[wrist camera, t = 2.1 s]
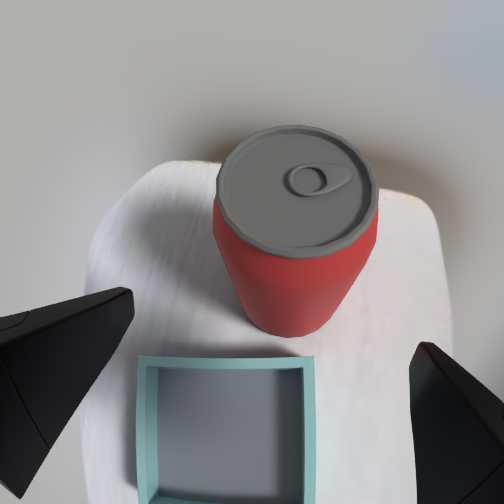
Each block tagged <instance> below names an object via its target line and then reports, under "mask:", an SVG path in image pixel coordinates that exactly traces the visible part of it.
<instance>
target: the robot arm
mask: <svg viewBox="0 0 504 504" xmlns="http://www.w3.org/2000/svg"><path fill="white" fill-rule="evenodd" d="M134 313H135V310H134V299H133V292H132V290H131V289H128V288H124V287H117V288H113V289H109V290H105V291H101V292H98V293H94V294H90V295H86V296H82V297H79V298H75V299H71V300H67V301H63V302H60V303H56V304H52V305H48V306H45V307H41V308H37V309H33V310H31V311H25V312H21V313H18V314H14V315H9V316H5V317H0V484H2V485H3V486H4V487H5V488H6V489H7V490H9V491H10V492H11V493H12V494H14V495H15V496H16V497H17V498H19V499H21V498H22V497H23V495H24V493H25V492H26V490H27V488H28V487H29V485H30V483H31V481H32V480H33V478H34V476H35V474H36V473H37V471H38V469H39V468H40V466H41V465H42V463H43V461H44V460H45V458H46V456H47V455H48V453H49V451H50V449H51V448H52V446H53V445H54V443H55V441H56V440H57V438H58V437H59V435H60V433H61V432H62V430H63V429H64V427H65V425H66V424H67V423H68V421H69V420H70V418H71V416H72V415H73V413H74V412H75V410H76V409H77V407H78V406H79V404H80V403H81V401H82V400H83V398H84V397H85V395H86V394H87V392H88V391H89V389H90V388H91V386H92V385H93V383H94V382H95V380H96V379H97V377H98V376H99V374H100V373H101V371H102V370H103V368H104V367H105V366H106V364H107V363H108V361H109V360H110V358H111V357H112V355H113V354H114V352H115V350H116V349H117V347H118V345H119V343H120V341H121V340H122V338H123V336H124V334H125V332H126V331H127V329H128V327H129V325H130V323H131V322H132V320H133V318H134ZM409 382H410V413H411V423H412V432H413V441H414V453H415V466H416V484H417V504H504V403H502V401H501V400H500V399H499V398H498V397H497V396H496V395H494V394H493V393H492V392H491V391H490V390H488V388H486V387H485V386H484V385H483V384H482V383H480V382H479V381H478V380H477V379H476V378H475V377H473V376H472V375H471V374H470V373H469V372H467V371H466V370H465V369H464V368H463V367H462V366H460V365H459V364H458V363H457V362H456V361H454V360H453V359H452V358H451V357H450V356H448V355H447V354H446V353H445V352H444V351H442V350H441V349H440V348H439V347H437V346H436V345H435V344H434V343H432V342H420V343H419V345H418V346H417V349H416V351H415V353H414V356H413V358H412V360H411V362H410V366H409Z"/></svg>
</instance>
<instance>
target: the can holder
mask: <svg viewBox="0 0 504 504" xmlns="http://www.w3.org/2000/svg"><path fill="white" fill-rule="evenodd" d="M136 464H137V485H138V501H139V504H315V484H316V409H315V372H314V356H305V357H282V358H186V357H164V356H147V355H138V362H137V385H136Z"/></svg>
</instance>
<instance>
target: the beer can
mask: <svg viewBox="0 0 504 504" xmlns="http://www.w3.org/2000/svg"><path fill="white" fill-rule="evenodd" d="M378 198H379V186H378V183H377V179H376V176H375V173H374V171H373V168H372V166H371V165H370V163H369V162H368V161H367V159H366V158H365V157H364V156H363V154H362V153H361V151H360V150H359V149H357V148H356V147H354V146H353V145H352V144H351V143H349V142H348V141H347V140H345V139H344V138H343V137H340V136H338V135H336V134H334V133H331V132H329V131H326V130H324V129H321V128H316V127H310V126H304V125H287V126H276V127H273V128H270V129H266V130H263V131H260V132H257V133H255V134H253V135H251V136H250V137H248V138H246V139H245V140H243V141H242V142H240V143H239V144H237V145H236V146H235V148H234V149H233V150H232V151H231V152H230V153H229V154H228V155H227V157H226V158H225V159H224V161H223V163H222V166H221V168H220V170H219V173H218V175H217V178H216V196H215V199H214V206H213V234H214V237H215V239H216V242H217V245H218V247H219V250H220V252H221V255H222V258H223V260H224V262H225V265H226V267H227V270H228V272H229V275H230V277H231V280H232V282H233V285H234V287H235V289H236V292H237V294H238V297H239V299H240V301H241V304H242V306H243V309H244V311H245V313H246V315H247V316H248V317H249V318H250V320H251V321H252V322H253V323H254V324H255V325H256V326H257V327H259V328H260V329H262V330H264V331H265V332H267V333H269V334H271V335H275V336H280V337H284V338H291V337H301V336H305V335H307V334H309V333H312V332H314V331H316V330H318V329H319V328H320V327H321V326H323V325H324V324H325V323H326V322H327V321H328V320H329V319H330V318H331V316H332V315H333V313H334V312H335V310H336V309H337V307H338V306H339V304H340V303H341V301H342V300H343V298H344V297H345V295H346V294H347V292H348V291H349V289H350V288H351V286H352V285H353V283H354V281H355V280H356V278H357V277H358V275H359V273H360V272H361V270H362V269H363V267H364V265H365V264H366V262H367V260H368V258H369V256H370V253H371V251H372V249H373V247H374V245H375V243H376V235H377V223H378Z"/></svg>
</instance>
